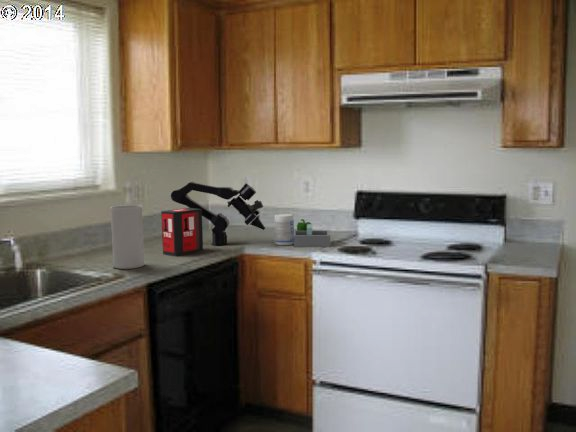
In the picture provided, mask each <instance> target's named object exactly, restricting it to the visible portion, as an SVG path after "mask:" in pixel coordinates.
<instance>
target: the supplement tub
mask: <svg viewBox="0 0 576 432" xmlns="http://www.w3.org/2000/svg"><path fill="white" fill-rule="evenodd" d="M294 222H295V221H294V214H290V213H282V214H281V213H279V214H275V215H274V244H275V245H277V246H291V245H294V235H295V223H294Z"/></svg>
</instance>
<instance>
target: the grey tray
mask: <svg viewBox="0 0 576 432" xmlns="http://www.w3.org/2000/svg"><path fill="white" fill-rule="evenodd" d="M293 247H294V248H313V247H314V248H330V247H331V230H312V235H307V231H297V230H294V244H293Z"/></svg>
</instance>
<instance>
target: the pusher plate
mask: <svg viewBox="0 0 576 432" xmlns="http://www.w3.org/2000/svg"><path fill="white" fill-rule="evenodd" d="M312 231H313V224H312V223H311V224H307V235H312Z"/></svg>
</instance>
